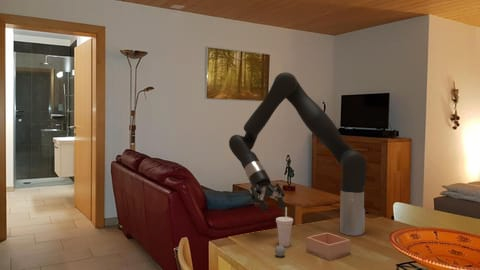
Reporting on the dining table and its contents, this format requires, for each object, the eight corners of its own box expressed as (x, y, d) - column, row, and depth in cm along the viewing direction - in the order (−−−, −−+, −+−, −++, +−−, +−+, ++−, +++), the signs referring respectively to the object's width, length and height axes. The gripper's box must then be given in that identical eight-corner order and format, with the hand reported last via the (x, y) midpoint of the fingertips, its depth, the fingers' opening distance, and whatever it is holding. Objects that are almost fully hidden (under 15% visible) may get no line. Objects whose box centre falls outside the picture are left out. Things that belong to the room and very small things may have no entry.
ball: (280, 253, 137) (280, 243, 137) (287, 256, 134) (287, 246, 134) (272, 255, 135) (272, 245, 135) (279, 258, 132) (279, 248, 132)
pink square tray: (327, 245, 145) (327, 232, 145) (350, 254, 137) (350, 239, 136) (306, 251, 139) (306, 237, 139) (329, 260, 130) (329, 245, 130)
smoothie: (292, 248, 142) (292, 209, 142) (274, 247, 143) (274, 208, 143) (293, 242, 148) (294, 205, 148) (276, 241, 150) (276, 204, 149)
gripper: (246, 170, 152) (265, 205, 143) (275, 168, 160) (294, 201, 152) (238, 182, 157) (256, 217, 148) (266, 179, 165) (284, 212, 156)
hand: (275, 209), depth 150 cm, fingers open, 8 cm apart
